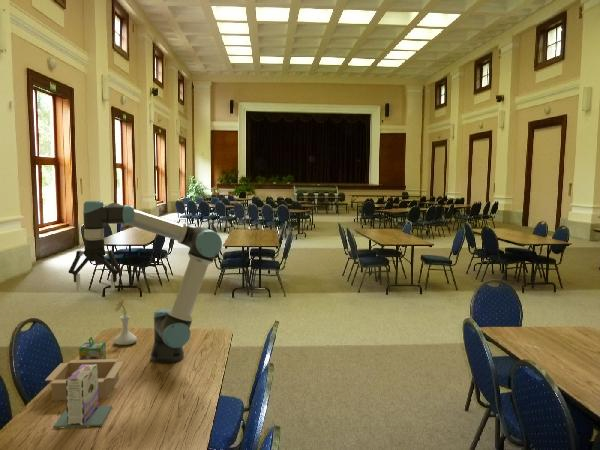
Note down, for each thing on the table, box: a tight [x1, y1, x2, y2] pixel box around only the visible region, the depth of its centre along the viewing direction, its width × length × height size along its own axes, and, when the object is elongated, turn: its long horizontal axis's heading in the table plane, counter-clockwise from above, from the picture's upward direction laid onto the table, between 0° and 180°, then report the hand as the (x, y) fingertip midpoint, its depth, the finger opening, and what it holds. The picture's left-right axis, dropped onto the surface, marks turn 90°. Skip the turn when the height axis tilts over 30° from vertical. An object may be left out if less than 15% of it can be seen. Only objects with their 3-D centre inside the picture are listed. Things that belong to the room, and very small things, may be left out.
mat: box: [52, 405, 113, 429], centre depth 181 cm, size 16×14×1 cm
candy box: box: [66, 364, 100, 425], centre depth 180 cm, size 14×6×16 cm, turn 0°
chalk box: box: [78, 336, 107, 360], centre depth 223 cm, size 9×9×15 cm
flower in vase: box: [113, 296, 138, 346], centre depth 256 cm, size 13×11×25 cm
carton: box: [44, 358, 125, 402], centre depth 204 cm, size 25×23×8 cm
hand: (95, 289), depth 209 cm, fingers open, 13 cm apart
